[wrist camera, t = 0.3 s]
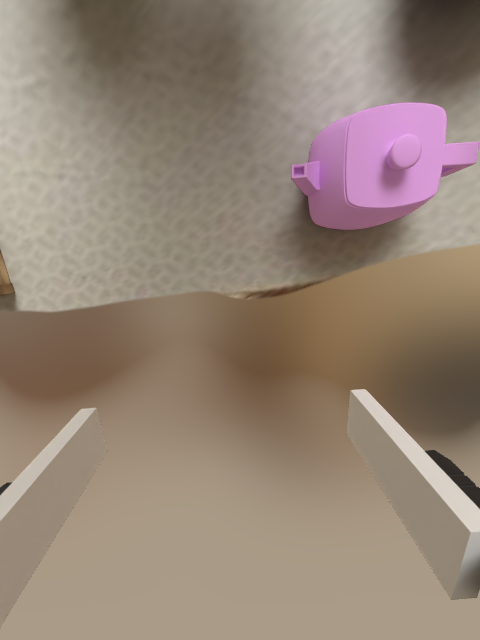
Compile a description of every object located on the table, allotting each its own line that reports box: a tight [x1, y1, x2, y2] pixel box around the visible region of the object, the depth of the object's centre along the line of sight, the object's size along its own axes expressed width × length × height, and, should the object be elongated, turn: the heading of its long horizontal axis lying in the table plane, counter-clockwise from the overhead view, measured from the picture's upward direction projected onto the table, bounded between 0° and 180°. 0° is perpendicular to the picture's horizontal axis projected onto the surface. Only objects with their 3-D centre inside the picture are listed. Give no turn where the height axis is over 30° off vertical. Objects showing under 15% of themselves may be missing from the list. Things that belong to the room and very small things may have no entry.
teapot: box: [291, 103, 480, 230], centre depth 29 cm, size 20×12×13 cm, turn 95°
